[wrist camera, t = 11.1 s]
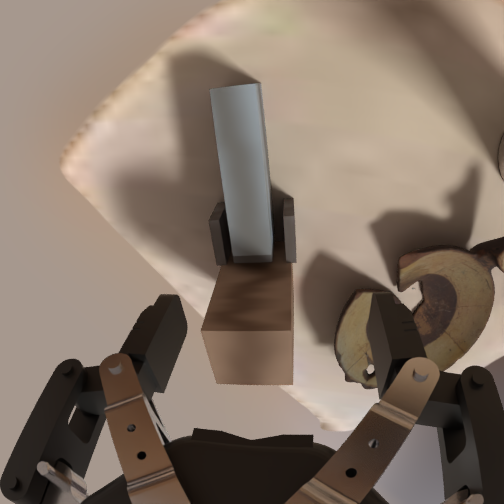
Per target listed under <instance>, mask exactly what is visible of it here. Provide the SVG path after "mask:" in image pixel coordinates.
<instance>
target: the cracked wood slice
mask: <svg viewBox="0 0 504 504" xmlns="http://www.w3.org/2000/svg"><path fill="white" fill-rule="evenodd" d="M496 266H497V267H498V268H499V269H500V270H501V271H502V272H503V273H504V237H501V238H497V239H494V240H490V241H486V242H483V243H480V244H478V245H476V246H474V247H473V248H471V249H470V251H468V250H465V249H463V248H460V247H456V246H448V245H440V246H431V247H426V248H422V249H419V250H415V251H412V252H410V253H408V254H405V255H403V256H402V257H400V258H399V260H398V271H397V273H398V275H397V277H398V281H397V288H398V292H403V291H405V290H406V289H407V288H409V287H410V286H411V285H412V284H414V283H415V282H417V281H419V280H421V285H422V293H423V296H424V300H423V302H422V304H421V305H419V307H418V309H417V310H416V311H415V312H414V313H413V318H414V321H415V323H416V326H417V331H418V332H419V334H420V337H421V340H422V343H423V346H424V349H425V352H426V355H427V358H428V359H429V360H431V361H433V362H434V363H435V364H436V365H437V367H438V369H439V370H440V371H445V370H446V369H448V368H449V367H451V366H452V365H453V364H454V363H455V362H456V361H457V360H458V359H460V358H461V357H463V356H464V354H466V353H467V352H468V350H469V349H470V348H471V347H472V346H473V344H474V343H475V342H476V341H477V339H478V338H479V336H480V335H481V333H482V331H483V330H484V328H485V326H486V323H487V321H488V319H489V317H490V313H491V310H492V307H493V301H494V295H495V290H494V289H495V287H494V281H493V277H492V275H491V270H492V269H493V268H494V267H496ZM412 289H415V288H412ZM374 292H383V291H381V290H373V289H363V288H362V289H356V290H355V291H354V293H353V294H352V295H351V297H350V298H349V300H348V301H347V303H346V305H345V307H344V309H343V311H342V313H341V316H340V318H339V321H338V325H337V327H336V332H335V339H334V350H335V355H336V359H337V361H338V363H339V366H340V367H341V368H342V369H343V371H344V373H345V381H347V382H356V383H361V384H362V387H363V388H365V389H373V388H378V387H377V381H376V375H375V370H374V372H373V373H371V374H368V373H367V370H366V369H367V367H368V366H369V365H370V364H372V365H374V363H373V357H372V352H371V347H370V341H369V336H368V319H369V313H370V306H371V299H372V294H373V293H374ZM392 295H393V298H394V301H395V304H402V303H401V301H400V300H399V299H398V298H397V297H396V296H395V295H394V294H392Z"/></svg>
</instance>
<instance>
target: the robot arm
mask: <svg viewBox="0 0 504 504" xmlns="http://www.w3.org/2000/svg"><path fill="white" fill-rule="evenodd" d="M498 162H499V169H500V173H501V176H502V178H503V180H504V135H503V137H502V140H501V143H500V147H499V157H498ZM186 334H187V321H186V318H185V314H184V311H183V308H182V304H181V301H180V298H179V296H178V295H171V294H167V295H166V294H161V295H160V296H159V297H158V299H157V301H156V302H155V304H154V306H149V307H147V309H145V310H144V311H143V312H142V313H141V314H140V316H139V318H138V319H137V323H135V325H134V326H133V330H131V332H130V333H129V335H128V337H127V339H126V341H125V342H124V344H123V346H122V348H121V350H120V351H119V353H115V354H112V355H110V356H108V357H106V358H105V359H104V360H103V361H102V363H101V364H100V366H93V367H83V365H82V364H81V362H80V361H79V360H77V359H68V360H65V361H63V362H62V363H60V364H59V365H58V366H57V368H56V369H55V371H54V372H53V374H52V376H51V378H50V380H49V381H48V383H47V385H46V387H45V389H44V390H43V392H42V394H41V396H40V398H39V399H38V401H37V403H36V405H35V407H34V409H33V411H32V413H31V415H30V417H29V419H28V421H27V423H26V425H25V427H24V429H23V431H22V433H21V435H20V437H19V439H18V441H17V443H16V445H15V447H14V450H13V452H12V454H11V456H10V458H9V460H8V463H7V465H6V467H5V470H4V472H3V474H2V477H1V480H0V488H1V491H2V493H3V495H4V496H5V497H6V498H7V499H9V500H10V501H12V502H14V503H15V504H389V503H388V502H387V501H386V500H385V499H384V498H383V497H382V496H381V495H380V494H379V493H378V492H377V491H376V490H375V489H374V488H373V487H374V486H375V484H376V483H377V482H378V480H379V479H380V477H381V476H382V475H383V473H384V472H385V470H386V469H387V468H388V466H389V465H390V463H391V462H392V460H393V459H394V457H395V456H396V454H397V453H398V451H399V450H400V448H401V447H402V445H403V443H404V442H405V440H406V438H407V437H408V435H409V434H410V432H411V430H412V429H413V427H414V425H415V424H420V425H426V426H432V427H437V432H438V438H439V446H440V453H441V462H442V471H443V481H444V495H445V501H444V502H442V503H441V504H504V410H503V407H502V403H501V400H500V397H499V394H498V391H497V388H496V385H495V382H494V379H493V376H492V375H491V373H490V372H489V371H488V370H486V369H485V368H483V367H480V366H470V367H468V368H466V369H465V370H464V371H463V372H462V374H454V373H447V372H443V371H440V370H439V369H438V367H437V365H436V364H435V363H434V362H433V361H431V360H429V359H428V358H427V355H426V352H425V349H424V346H423V343H422V340H421V337H420V334H419V332H418V331H417V326H416V323H415V321H414V318H413V315H412V312H411V311H410V310H409V309H408V308H407V307H406V306H405V305H404V304H395V301H394V298H393V295H392V293H391V292H374V293H373V294H372V299H371V306H370V313H369V319H368V336H369V341H370V347H371V352H372V357H373V363H374V369H375V375H376V381H377V387H378V393H379V399H381V400H380V401H379V403H375V404H374V405H373V406H372V407H371V409H370V410H369V411H368V413H367V414H366V415H365V417H364V418H363V419H362V421H361V422H360V423H359V424H358V426H357V427H356V428H355V430H354V431H353V432H352V433H351V435H350V436H349V437H348V438H347V440H346V441H345V442H344V443H343V444H342V446H341V447H340V448H339V449H338V450H337V451H335V450H334V449H332V448H330V447H327V446H325V445H322V444H319V443H314V442H313V435H279V436H274V437H268V438H262V439H256V440H249V439H245V438H242V437H239V436H235V435H233V434H229V433H226V432H223V431H217V430H207V429H198V428H194V430H193V434H192V436H186V437H182V438H178V439H176V440H173V441H172V440H171V438H170V436H169V434H168V433H167V431H166V428H165V426H164V424H163V422H162V419H161V417H160V415H159V413H158V410H157V408H156V406H155V404H154V401H153V399H152V396H153V393H154V392H159V393H164V391H165V389H166V386H167V383H168V381H169V378H170V376H171V373H172V371H173V368H174V365H175V363H176V360H177V358H178V355H179V353H180V350H181V347H182V345H183V342H184V340H185V337H186ZM74 406H76V410H75V412H74V414H73V416H72V419H71V420H70V423H69V425H68V419H69V417H70V414H71V412H72V410H73V408H74ZM106 419H107V422H108V426H109V429H110V433H111V436H112V440H113V443H114V446H115V449H116V452H117V455H118V458H119V461H120V464H121V467H122V470H123V473H124V474H122V475H121V476H119V477H118V478H116V479H115V480H113V481H112V482H110V483H109V484H107V485H106V486H104V487H103V488H101V489H100V490H98V491H97V492H95V493H93V494H92V495H90V496H88V493H87V486H86V482H85V481H84V477H85V474H86V471H87V468H88V466H89V463H90V460H91V457H92V454H93V452H94V449H95V446H96V444H97V441H98V438H99V436H100V433H101V430H102V428H103V425H104V423H105V420H106Z"/></svg>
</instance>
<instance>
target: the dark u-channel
mask: <svg viewBox="0 0 504 504" xmlns="http://www.w3.org/2000/svg"><path fill="white" fill-rule="evenodd" d="M283 219H284V234H285V241H277V242H274V246H273V258H272V262H259V263H234V259H233V253H232V246H231V240H230V233H229V226H228V220H227V213H226V206H225V202H224V203H218V204H217V206H216V207H215V209H214V211H213V213H212V215H211V217H210V219H209V225H210V231H211V236H212V242H213V247H214V252H215V258H216V263H217V265H222V266H221V269H220V272H219V275H218V278H217V281H216V284H215V288H214V291H213V294H212V297H211V300H210V303H209V306H208V309H207V313H206V316H205V319H204V322H203V325H202V328H201V333H202V337H203V340H204V344H205V347H206V350H207V353H208V357H209V360H210V364H211V367H212V370H213V373H214V376H215V380H216V383H217V384H238V385H239V384H240V385H293V346H294V290H293V267H292V263H296V237H295V217H294V200H293V198H289V199H284V209H283Z"/></svg>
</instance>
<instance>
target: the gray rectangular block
mask: <svg viewBox="0 0 504 504" xmlns="http://www.w3.org/2000/svg"><path fill="white" fill-rule="evenodd" d="M209 90H210V97H211V105H212V113H213V120H214V128H215V135H216V142H217V150H218V157H219V164H220V171H221V178H222V185H223V192H224V199H225V206H226V213H227V220H228V226H229V233H230V240H231V246H232V253H233V259H234V263H259V262H272V258H273V246H274V234H275V231H274V218H273V206H272V194H271V183H270V171H269V160H268V149H267V139H266V128H265V118H264V108H263V98H262V89H261V83H256V84H246V85H237V86H228V87H220V88H213V89H209Z"/></svg>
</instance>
